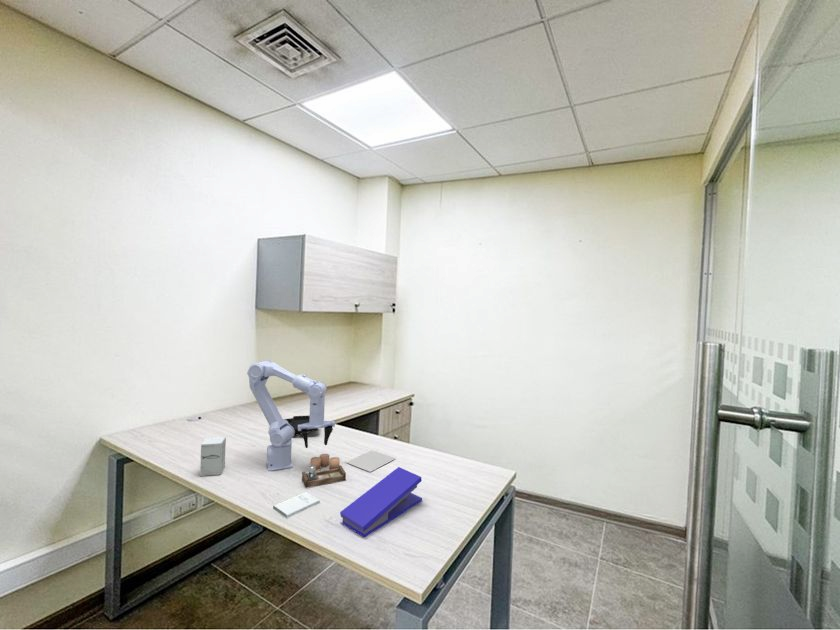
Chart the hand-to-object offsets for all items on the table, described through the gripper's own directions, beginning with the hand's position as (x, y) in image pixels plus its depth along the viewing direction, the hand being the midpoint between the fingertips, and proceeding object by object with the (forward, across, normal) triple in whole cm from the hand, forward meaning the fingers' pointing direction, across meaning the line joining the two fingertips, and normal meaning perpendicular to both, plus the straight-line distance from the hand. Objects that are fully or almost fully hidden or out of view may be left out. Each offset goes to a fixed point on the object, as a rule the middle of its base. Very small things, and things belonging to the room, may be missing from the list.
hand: (316, 445), depth 152 cm
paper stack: (+10, +22, -8) cm, 25 cm away
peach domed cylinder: (+10, +7, -3) cm, 12 cm away
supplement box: (+10, -37, +12) cm, 40 cm away
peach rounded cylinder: (+10, +4, +2) cm, 10 cm away
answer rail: (+9, +1, -11) cm, 15 cm away
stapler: (+10, +14, -40) cm, 44 cm away
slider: (+8, -3, -11) cm, 14 cm away
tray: (+10, +2, +48) cm, 49 cm away
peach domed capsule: (+10, 0, 0) cm, 10 cm away
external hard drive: (+10, -11, -25) cm, 29 cm away
